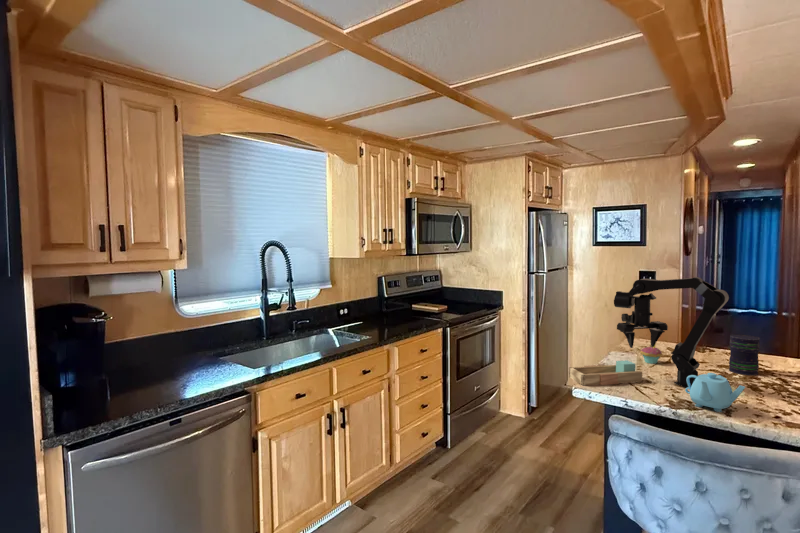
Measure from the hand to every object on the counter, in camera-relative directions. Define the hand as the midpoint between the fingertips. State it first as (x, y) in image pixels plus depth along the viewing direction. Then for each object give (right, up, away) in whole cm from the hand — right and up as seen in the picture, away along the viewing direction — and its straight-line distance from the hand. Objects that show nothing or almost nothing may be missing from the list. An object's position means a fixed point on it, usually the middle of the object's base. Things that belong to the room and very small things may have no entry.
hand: (641, 347), depth 178 cm
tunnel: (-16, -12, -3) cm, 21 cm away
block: (-8, -11, -2) cm, 13 cm away
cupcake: (+15, -11, +20) cm, 27 cm away
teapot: (+6, -14, -32) cm, 36 cm away
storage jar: (+45, -11, +5) cm, 47 cm away
